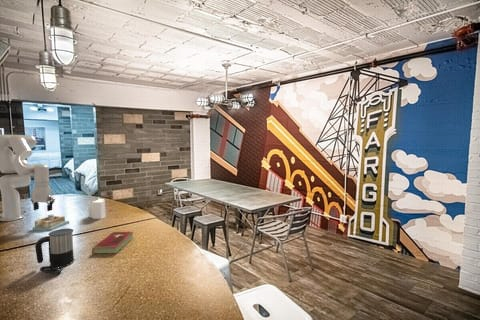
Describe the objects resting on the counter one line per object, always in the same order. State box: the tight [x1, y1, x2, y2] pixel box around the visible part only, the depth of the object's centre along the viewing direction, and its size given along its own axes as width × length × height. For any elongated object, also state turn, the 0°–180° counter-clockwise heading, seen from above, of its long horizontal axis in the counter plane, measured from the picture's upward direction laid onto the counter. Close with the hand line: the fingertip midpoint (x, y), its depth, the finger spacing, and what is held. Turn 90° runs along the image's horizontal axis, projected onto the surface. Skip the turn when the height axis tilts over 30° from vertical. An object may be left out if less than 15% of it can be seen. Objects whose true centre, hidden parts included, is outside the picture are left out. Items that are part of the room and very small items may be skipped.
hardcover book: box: [91, 231, 135, 255], centre depth 134 cm, size 12×21×4 cm, turn 1°
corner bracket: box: [88, 198, 107, 220], centre depth 184 cm, size 11×11×12 cm
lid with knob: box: [32, 213, 70, 232], centre depth 163 cm, size 13×14×8 cm
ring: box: [34, 215, 66, 227], centre depth 163 cm, size 11×11×4 cm
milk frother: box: [34, 228, 75, 275], centre depth 110 cm, size 14×16×15 cm
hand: (43, 210), depth 163 cm, fingers open, 9 cm apart
